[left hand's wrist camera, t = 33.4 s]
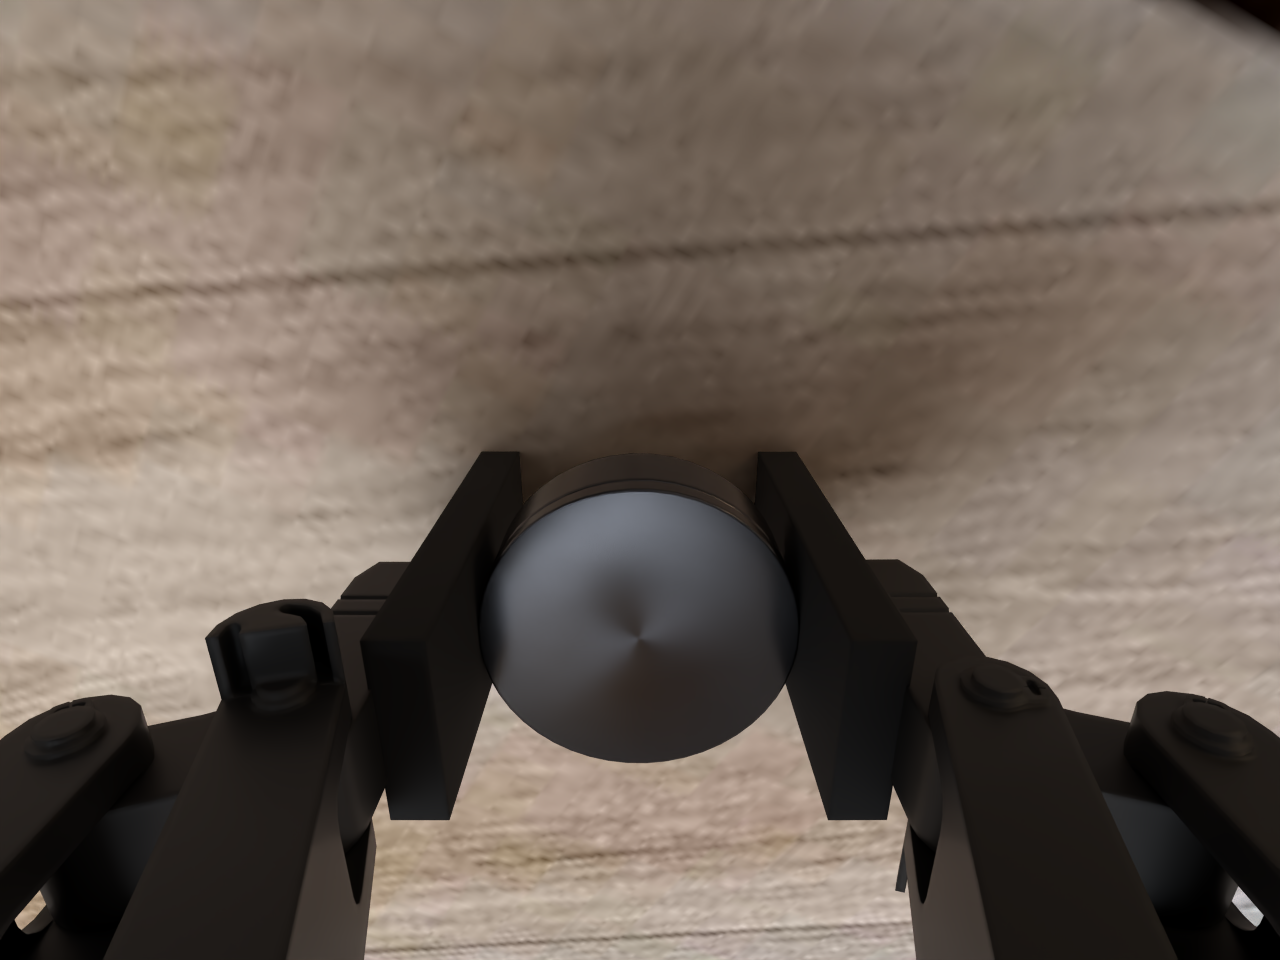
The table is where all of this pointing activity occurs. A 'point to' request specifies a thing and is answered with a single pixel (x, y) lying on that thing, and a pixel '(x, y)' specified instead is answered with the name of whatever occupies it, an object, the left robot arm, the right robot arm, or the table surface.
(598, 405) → the table surface
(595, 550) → the lid
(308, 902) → the left robot arm
